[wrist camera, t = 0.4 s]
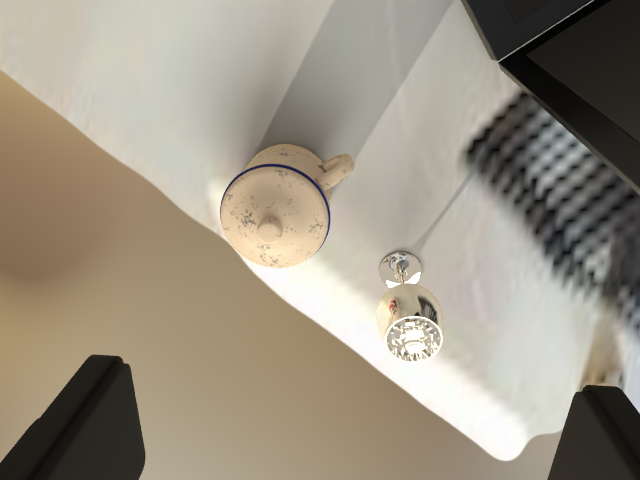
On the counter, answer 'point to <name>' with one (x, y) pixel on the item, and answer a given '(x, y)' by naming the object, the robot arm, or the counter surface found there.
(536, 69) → the laptop screen
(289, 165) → the teacup with lid
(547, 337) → the counter surface
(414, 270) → the wineglass
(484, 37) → the laptop
